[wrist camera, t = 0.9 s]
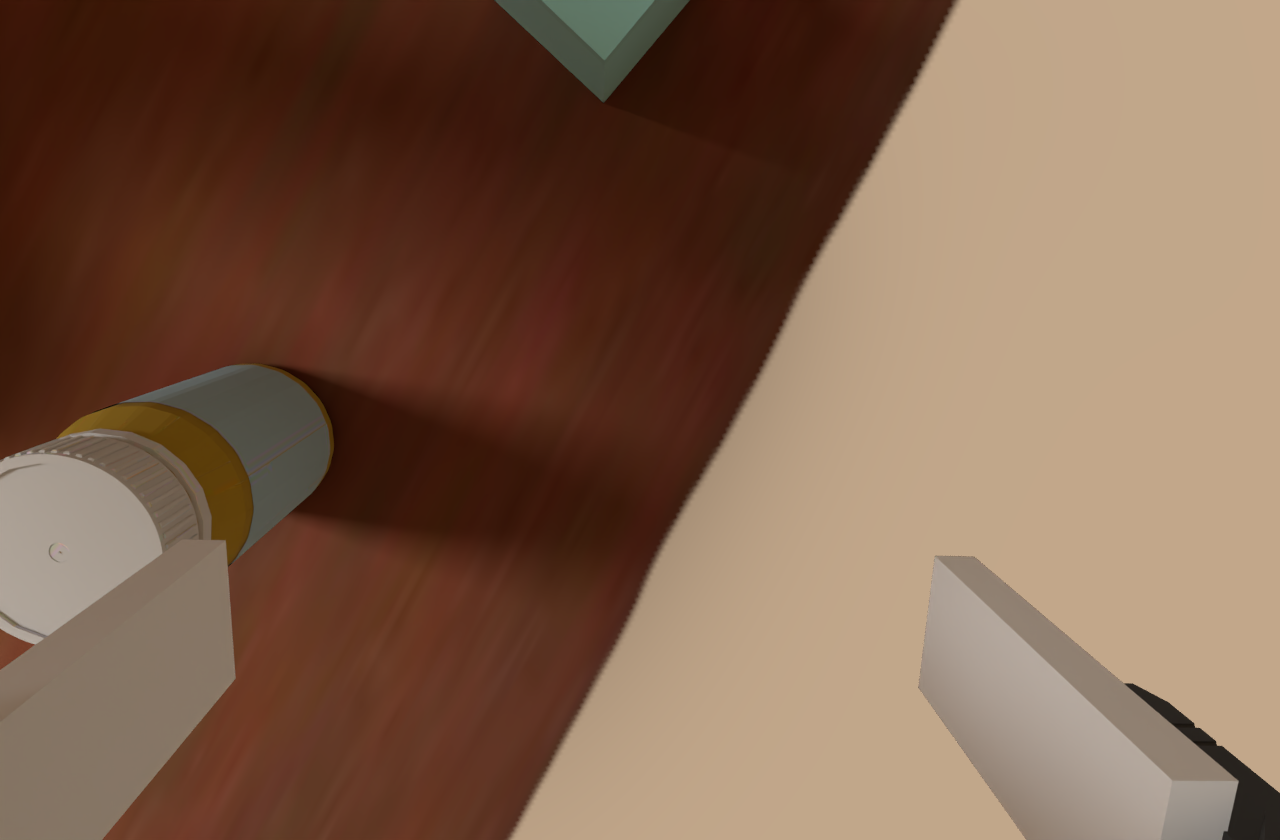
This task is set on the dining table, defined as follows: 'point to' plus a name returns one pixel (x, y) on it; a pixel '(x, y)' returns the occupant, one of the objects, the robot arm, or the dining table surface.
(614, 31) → the matte teal cube
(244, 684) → the dining table surface
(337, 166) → the dining table surface
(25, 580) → the bottle
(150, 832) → the dining table surface
